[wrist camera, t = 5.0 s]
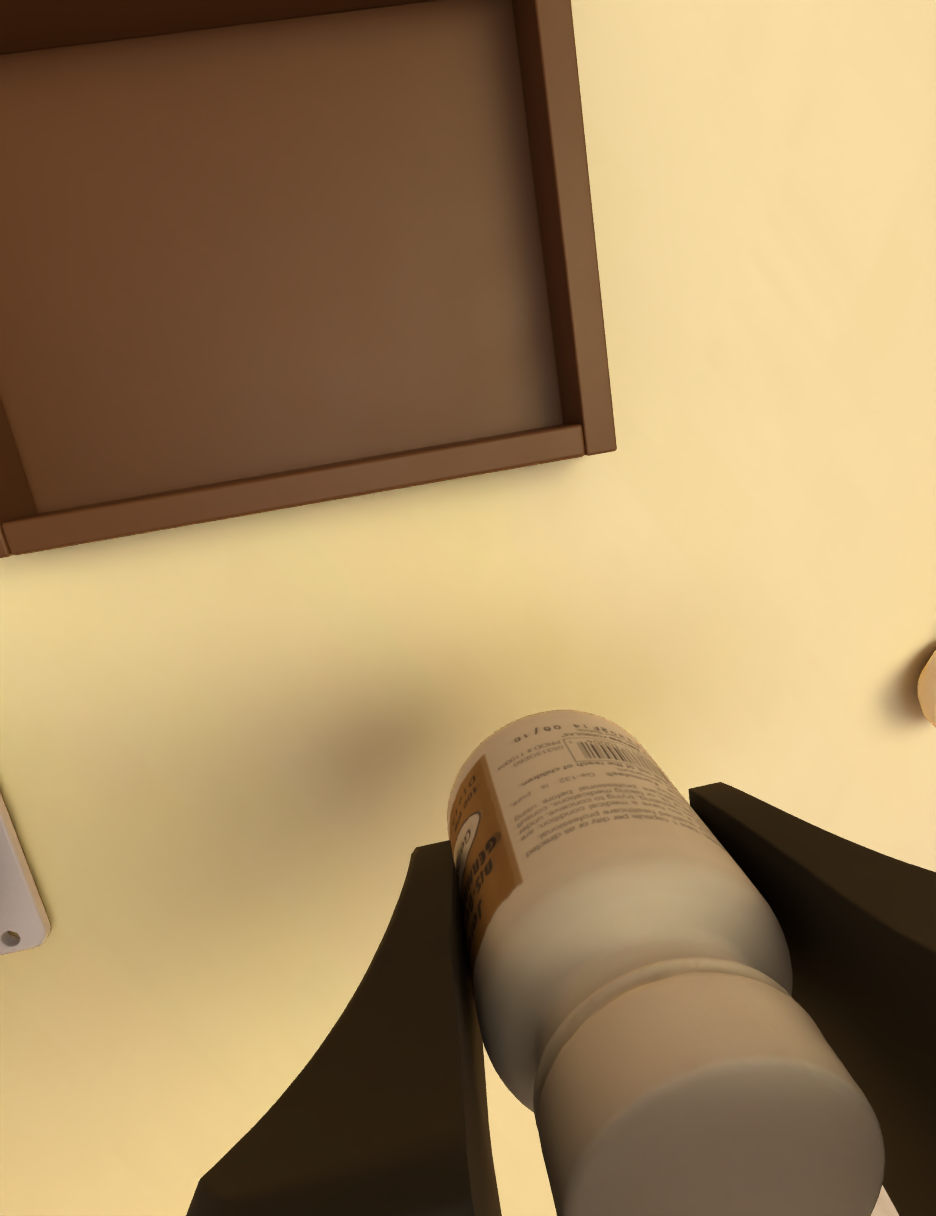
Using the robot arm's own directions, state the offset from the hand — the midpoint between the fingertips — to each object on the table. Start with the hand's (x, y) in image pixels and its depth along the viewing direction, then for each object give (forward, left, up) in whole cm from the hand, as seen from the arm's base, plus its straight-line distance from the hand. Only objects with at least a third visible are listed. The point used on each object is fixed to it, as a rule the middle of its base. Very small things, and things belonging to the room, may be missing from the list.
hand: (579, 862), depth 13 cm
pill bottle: (0, 0, -2) cm, 2 cm away
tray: (-4, +12, -9) cm, 16 cm away
